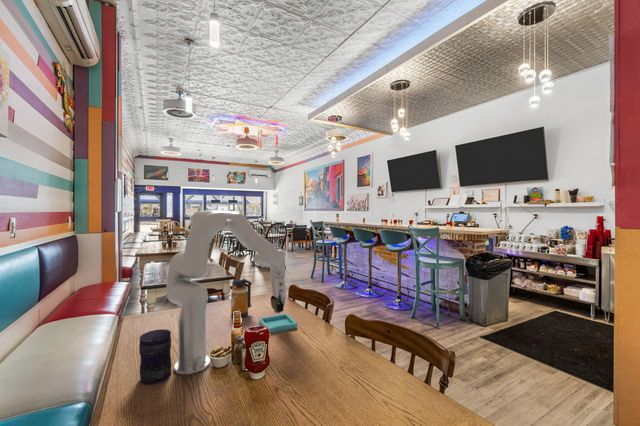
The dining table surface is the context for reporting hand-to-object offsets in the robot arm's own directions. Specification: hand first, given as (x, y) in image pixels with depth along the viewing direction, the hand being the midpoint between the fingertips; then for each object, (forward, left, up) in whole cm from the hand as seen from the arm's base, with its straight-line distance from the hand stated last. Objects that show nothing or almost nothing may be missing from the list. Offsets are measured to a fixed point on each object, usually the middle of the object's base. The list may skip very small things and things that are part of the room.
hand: (277, 308), depth 148 cm
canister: (+23, +13, -9) cm, 28 cm away
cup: (0, 0, -2) cm, 2 cm away
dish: (0, 0, -9) cm, 9 cm away
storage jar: (-23, +53, -9) cm, 59 cm away
